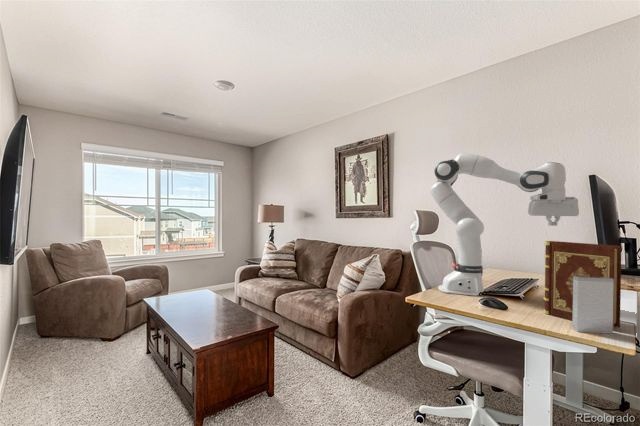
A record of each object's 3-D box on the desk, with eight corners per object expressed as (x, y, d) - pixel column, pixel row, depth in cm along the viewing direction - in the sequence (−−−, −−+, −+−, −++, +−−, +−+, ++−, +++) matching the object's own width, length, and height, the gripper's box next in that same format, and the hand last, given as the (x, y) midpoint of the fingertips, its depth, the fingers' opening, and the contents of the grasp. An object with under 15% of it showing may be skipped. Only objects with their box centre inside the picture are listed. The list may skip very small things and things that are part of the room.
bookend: (577, 331, 106) (577, 277, 106) (572, 328, 108) (573, 275, 108) (612, 334, 104) (613, 278, 104) (607, 331, 106) (607, 277, 106)
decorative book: (540, 312, 126) (541, 241, 125) (548, 309, 130) (550, 240, 130) (612, 331, 106) (614, 247, 106) (620, 327, 111) (621, 245, 110)
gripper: (573, 197, 144) (572, 225, 144) (526, 196, 147) (526, 224, 148) (582, 196, 138) (582, 226, 138) (533, 196, 141) (533, 225, 141)
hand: (552, 225), depth 143 cm, fingers closed
